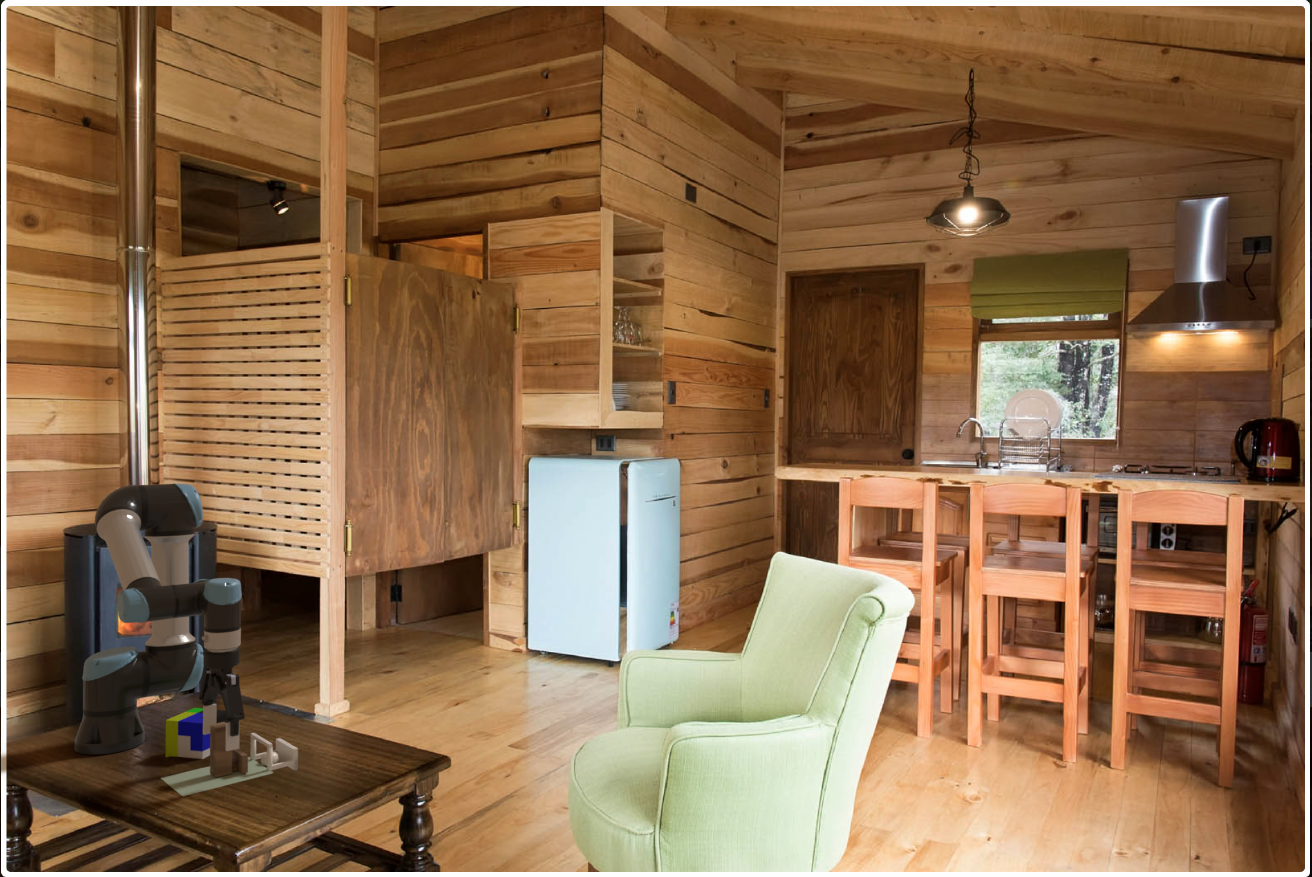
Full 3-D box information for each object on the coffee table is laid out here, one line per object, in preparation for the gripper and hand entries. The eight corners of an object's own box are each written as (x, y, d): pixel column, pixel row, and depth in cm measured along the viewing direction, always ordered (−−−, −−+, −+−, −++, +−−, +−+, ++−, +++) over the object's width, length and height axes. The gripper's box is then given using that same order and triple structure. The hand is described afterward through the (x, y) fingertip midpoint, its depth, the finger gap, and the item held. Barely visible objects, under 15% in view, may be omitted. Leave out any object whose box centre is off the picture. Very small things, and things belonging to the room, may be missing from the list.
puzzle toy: (202, 765, 220) (202, 723, 220) (165, 762, 222) (165, 720, 222) (230, 751, 230) (230, 710, 230) (194, 748, 232) (194, 707, 232)
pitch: (160, 784, 208) (160, 751, 208) (276, 756, 226) (276, 725, 226) (182, 803, 198) (182, 767, 198) (301, 772, 216) (301, 739, 216)
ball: (278, 753, 222) (268, 769, 220) (265, 746, 219) (254, 762, 218) (285, 758, 219) (275, 774, 217) (272, 751, 216) (261, 767, 215)
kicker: (207, 771, 211) (207, 723, 211) (235, 764, 216) (236, 717, 216) (218, 779, 207) (219, 730, 206) (247, 772, 211) (248, 724, 211)
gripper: (184, 639, 216) (183, 730, 217) (226, 662, 198) (224, 761, 199) (218, 634, 221) (217, 723, 222) (261, 656, 204) (260, 752, 204)
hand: (220, 741), depth 211 cm, fingers open, 13 cm apart
